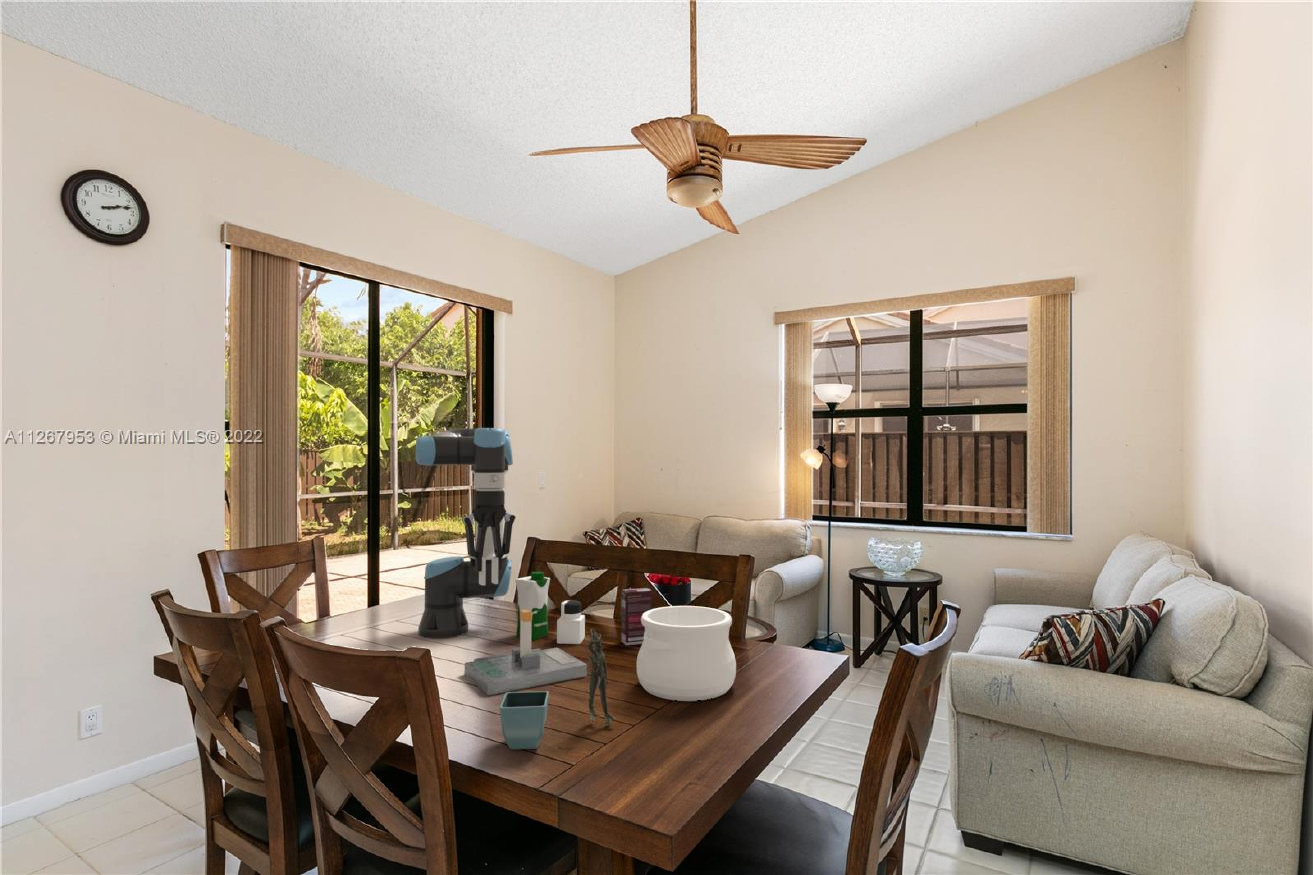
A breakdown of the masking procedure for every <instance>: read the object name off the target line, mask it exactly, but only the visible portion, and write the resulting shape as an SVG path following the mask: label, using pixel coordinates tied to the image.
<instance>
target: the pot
mask: <svg viewBox="0 0 1313 875" xmlns="http://www.w3.org/2000/svg"><path fill="white" fill-rule="evenodd" d="M641 623H642V625H643V626H644V627H645V632H644V641H643V643H642V644H641V646H640V648H639V651H638V652H637V658H636V663H635V664H636V674H637V678H638V680H639V683H640V685H641V686H642V688H643V689H644V690H645V691H646V692H647V693H649V695H653V696H654V697H657V698H661V699H664V700H669V701H675V700H677V702H698V701H697V700H701V701H707V699H708V700H711V698H712V699H715V698H718V697H720V696H723V695H724V694H726V693H727V692H729V690H730V688H731V687H732V686H733V684H734V683H735V679H736V676H737V675H736V674H737V661H736V657H735V656H736V655H735V653H734V650H733V648H732V645H731V642H730V639H729V630H728V629H730V627H731V626H732V624H733V618H732V616H731V615H730V614H729V613H728V612H726V611H724V610H722V609H717V608H713V607H712V608H711V607H705V606H697V605H696V606H695V605H671V606H662V607H661V606H660V607H657V608H656V607H655V608H652V610H649V611H646V612H645V613H643V615H642V617H641Z"/></svg>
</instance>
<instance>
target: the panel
mask: <svg viewBox="0 0 1313 875" xmlns="http://www.w3.org/2000/svg"><path fill="white" fill-rule="evenodd" d="M511 653H512V655H509V656H503V657H497V658H491V659H485V660H479V661H474V660H473V661H469V662H467V661H466V662H464V675H465V676H466V677H467V678H468V679H469V681H471V682H472V683H474V685H476V686H477V687H478V688H479V689H480V690H482V692H484V694H486V695H487V696H492V695H498V694H503V693H504V694H505V693H507V692H515V691H519V690H525V689H529V688H534V687H535V688H536V687H539V686H544V685H549V684H550V685H551V684H554V683H560V682H564V681H565V682H566V681H570V680H574V679H582V678H584V677H585V678H586V677H587V676H588V664H586V662H584V661H582V660H580V659H578V658H577V657H574V656H573V655H571V654H569V653H568V652H566V651H564V650H562V649H561V648H559V647H553V648H546V649H541V650H539V651H533V652H531V654H529V655H523V656H522V659H521V658H520V647H515V648H511Z"/></svg>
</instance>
